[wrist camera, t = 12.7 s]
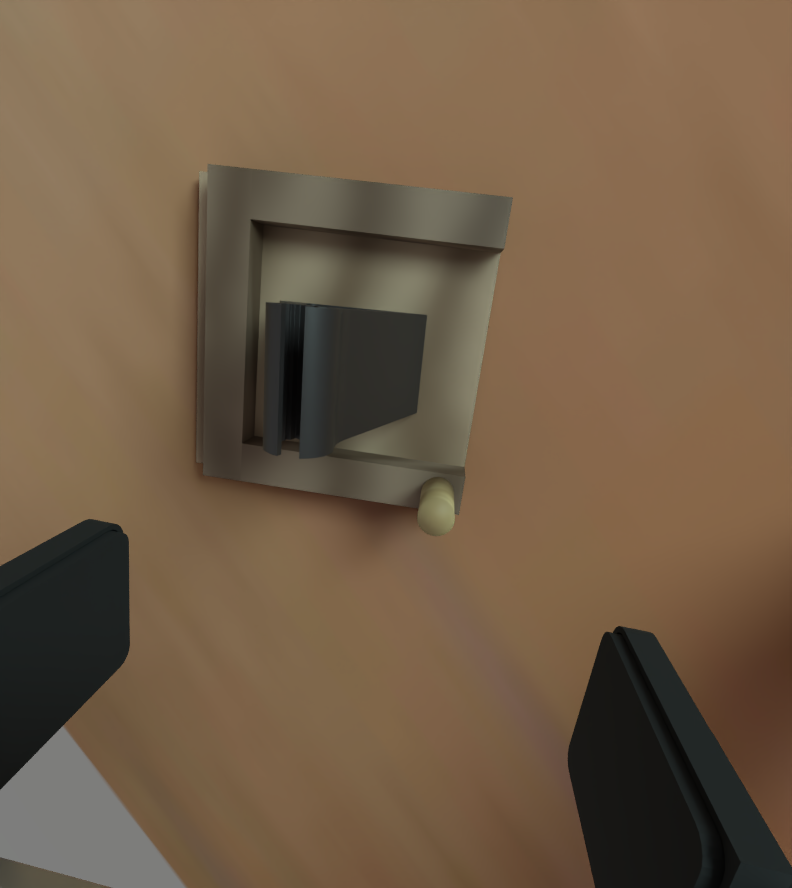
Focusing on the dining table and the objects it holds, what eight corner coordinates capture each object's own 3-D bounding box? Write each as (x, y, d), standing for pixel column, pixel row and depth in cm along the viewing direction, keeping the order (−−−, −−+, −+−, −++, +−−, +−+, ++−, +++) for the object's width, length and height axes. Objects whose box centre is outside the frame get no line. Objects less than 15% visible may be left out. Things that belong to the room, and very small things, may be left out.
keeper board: (506, 209, 28) (523, 177, 22) (457, 497, 33) (460, 544, 26) (207, 175, 30) (136, 135, 23) (203, 458, 34) (143, 493, 28)
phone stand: (278, 395, 32) (180, 444, 20) (282, 299, 30) (177, 292, 19) (417, 412, 31) (397, 472, 19) (428, 314, 29) (414, 317, 18)
